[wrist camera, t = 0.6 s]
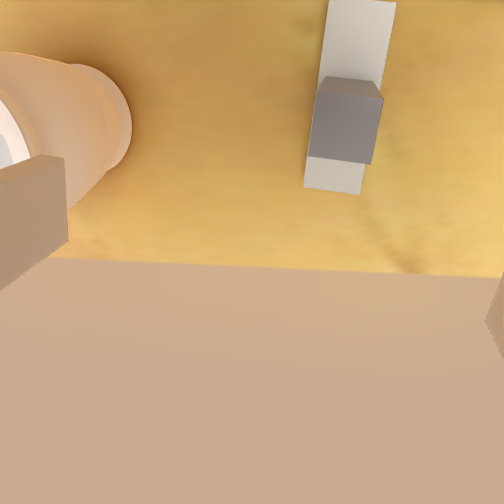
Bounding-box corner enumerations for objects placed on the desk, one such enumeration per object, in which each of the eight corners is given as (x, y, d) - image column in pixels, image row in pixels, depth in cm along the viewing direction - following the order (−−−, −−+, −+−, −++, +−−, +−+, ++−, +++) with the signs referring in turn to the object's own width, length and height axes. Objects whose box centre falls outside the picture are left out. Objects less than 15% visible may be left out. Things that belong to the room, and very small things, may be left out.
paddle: (331, 0, 32) (321, -23, 20) (392, 5, 31) (419, -15, 20) (306, 176, 37) (286, 240, 25) (358, 183, 36) (363, 252, 25)
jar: (43, 22, 36) (-143, 11, 22) (166, 90, 36) (56, 121, 22) (10, 147, 40) (-160, 201, 27) (120, 207, 41) (6, 290, 27)
